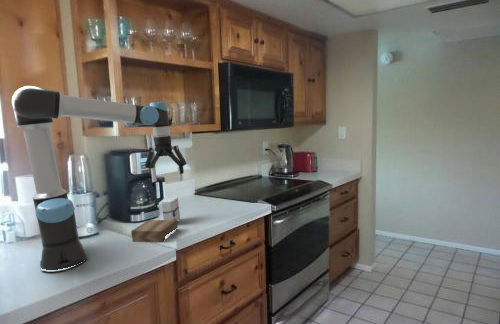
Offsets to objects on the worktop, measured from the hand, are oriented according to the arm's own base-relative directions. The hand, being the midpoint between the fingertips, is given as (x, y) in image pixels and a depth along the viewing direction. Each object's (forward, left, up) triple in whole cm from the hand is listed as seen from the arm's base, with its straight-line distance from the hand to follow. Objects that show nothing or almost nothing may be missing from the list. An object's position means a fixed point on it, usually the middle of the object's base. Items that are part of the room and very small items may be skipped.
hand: (167, 181), depth 159 cm
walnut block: (0, -16, -21) cm, 26 cm away
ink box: (0, 0, -21) cm, 21 cm away
